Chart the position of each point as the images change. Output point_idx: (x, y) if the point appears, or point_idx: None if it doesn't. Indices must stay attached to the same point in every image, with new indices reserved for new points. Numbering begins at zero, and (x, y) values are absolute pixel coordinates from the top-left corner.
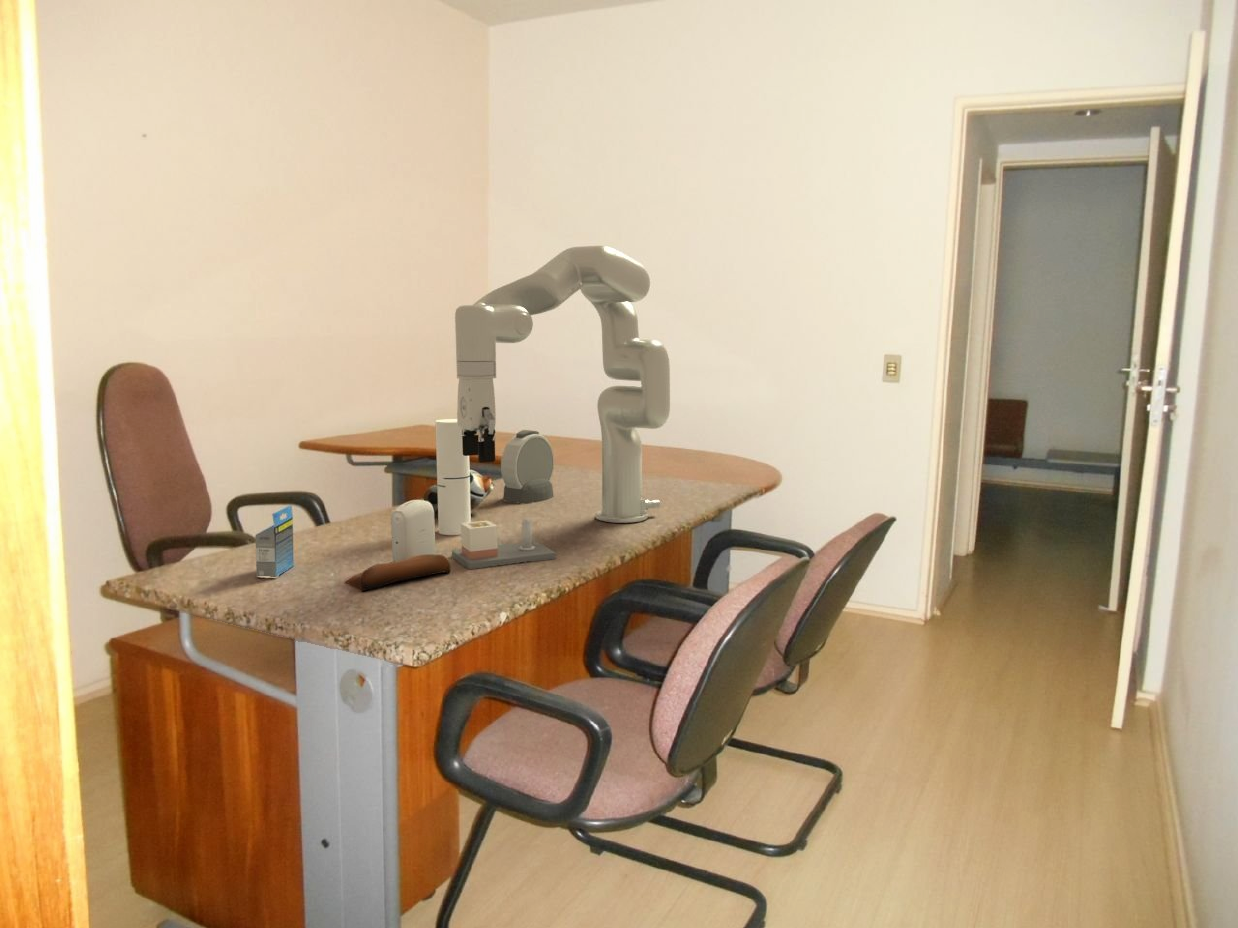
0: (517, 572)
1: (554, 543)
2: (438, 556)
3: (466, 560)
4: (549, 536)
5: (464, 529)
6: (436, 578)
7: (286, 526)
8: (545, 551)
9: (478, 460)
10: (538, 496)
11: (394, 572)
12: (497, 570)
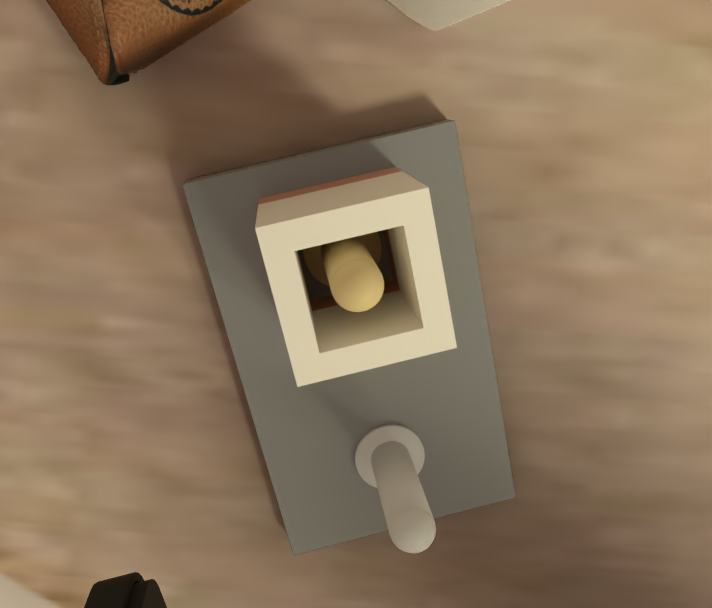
0: (100, 381)
1: (534, 553)
2: (91, 18)
3: (236, 177)
4: (653, 546)
5: (357, 199)
6: (41, 8)
7: None
8: (323, 520)
9: (119, 582)
10: None
11: None
12: (147, 303)
